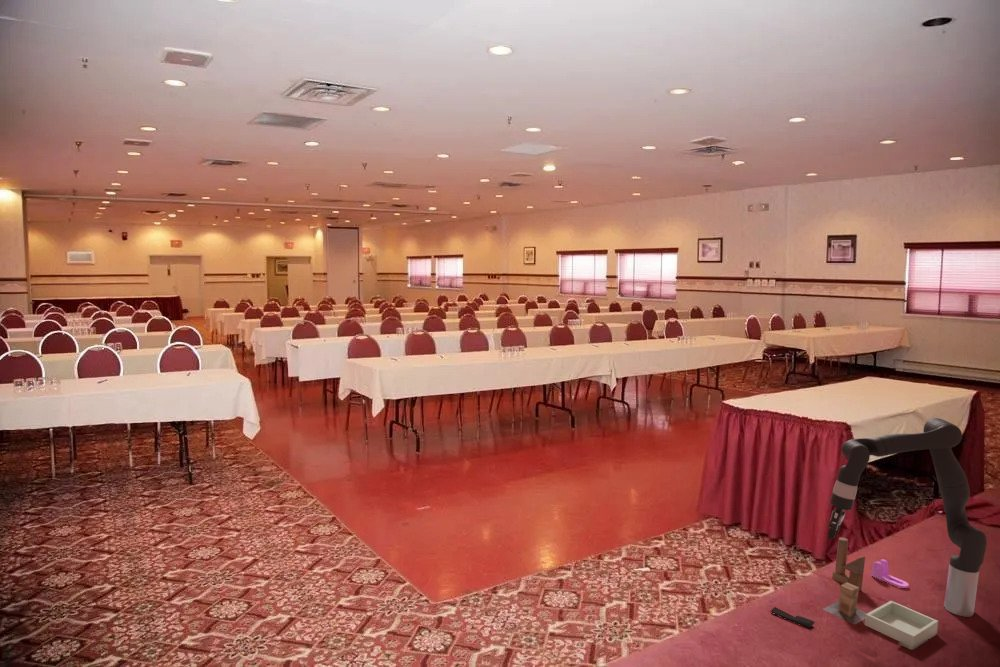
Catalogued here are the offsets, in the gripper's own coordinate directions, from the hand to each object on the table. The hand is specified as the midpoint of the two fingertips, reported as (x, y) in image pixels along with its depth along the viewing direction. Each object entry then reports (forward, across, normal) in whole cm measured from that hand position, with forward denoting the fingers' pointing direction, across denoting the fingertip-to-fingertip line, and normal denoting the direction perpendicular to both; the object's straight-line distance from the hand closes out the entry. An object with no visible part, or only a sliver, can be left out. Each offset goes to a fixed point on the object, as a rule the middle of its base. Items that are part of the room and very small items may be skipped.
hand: (832, 535), depth 252 cm
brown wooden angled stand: (+25, +26, -7) cm, 37 cm away
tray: (+24, +2, -28) cm, 37 cm away
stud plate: (+27, +1, -11) cm, 29 cm away
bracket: (+22, +41, -21) cm, 51 cm away
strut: (+26, +1, -11) cm, 28 cm away
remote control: (+31, -14, +4) cm, 34 cm away
